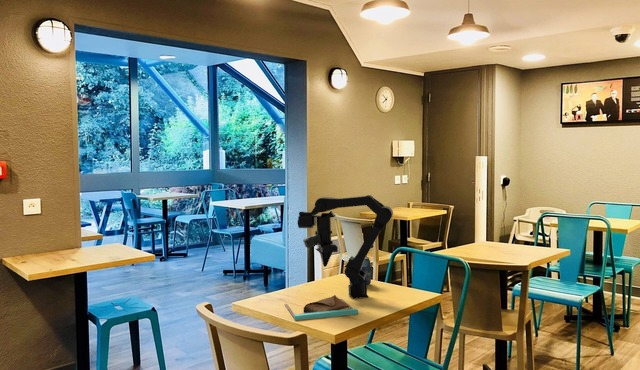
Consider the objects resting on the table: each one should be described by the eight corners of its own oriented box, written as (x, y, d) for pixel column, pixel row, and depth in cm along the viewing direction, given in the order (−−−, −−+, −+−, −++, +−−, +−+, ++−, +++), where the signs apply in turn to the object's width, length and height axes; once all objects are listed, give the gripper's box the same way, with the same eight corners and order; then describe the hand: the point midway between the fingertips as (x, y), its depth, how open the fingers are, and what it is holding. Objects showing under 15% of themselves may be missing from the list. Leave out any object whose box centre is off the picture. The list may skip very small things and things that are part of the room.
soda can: (370, 286, 230) (369, 259, 230) (354, 286, 232) (353, 259, 231) (371, 283, 237) (371, 256, 236) (356, 282, 238) (355, 256, 238)
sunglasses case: (321, 317, 188) (313, 300, 190) (308, 324, 192) (300, 307, 194) (351, 306, 202) (344, 289, 204) (339, 312, 206) (332, 296, 208)
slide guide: (342, 299, 211) (341, 295, 211) (358, 313, 191) (358, 309, 191) (284, 305, 206) (284, 301, 206) (295, 320, 186) (295, 316, 186)
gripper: (299, 226, 224) (300, 263, 224) (309, 232, 205) (310, 272, 206) (325, 225, 226) (326, 261, 227) (337, 230, 208) (338, 270, 209)
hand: (324, 266), depth 217 cm, fingers closed
